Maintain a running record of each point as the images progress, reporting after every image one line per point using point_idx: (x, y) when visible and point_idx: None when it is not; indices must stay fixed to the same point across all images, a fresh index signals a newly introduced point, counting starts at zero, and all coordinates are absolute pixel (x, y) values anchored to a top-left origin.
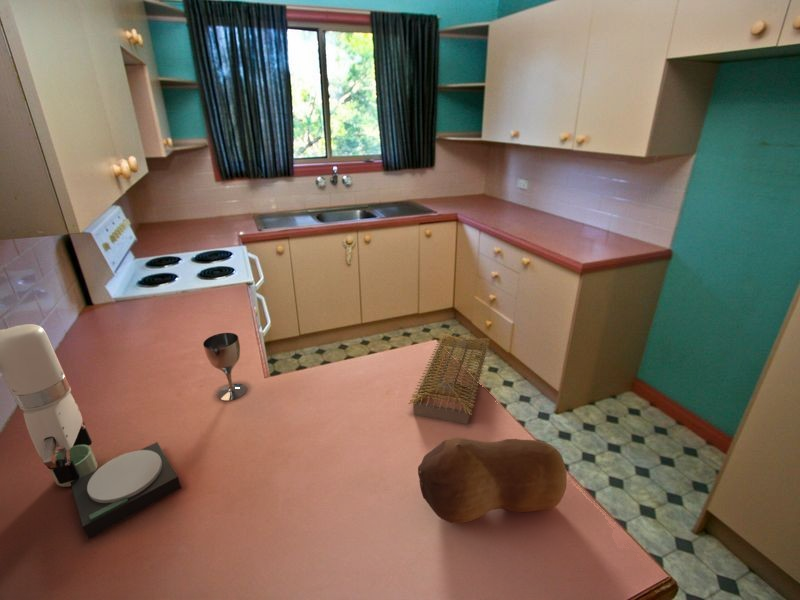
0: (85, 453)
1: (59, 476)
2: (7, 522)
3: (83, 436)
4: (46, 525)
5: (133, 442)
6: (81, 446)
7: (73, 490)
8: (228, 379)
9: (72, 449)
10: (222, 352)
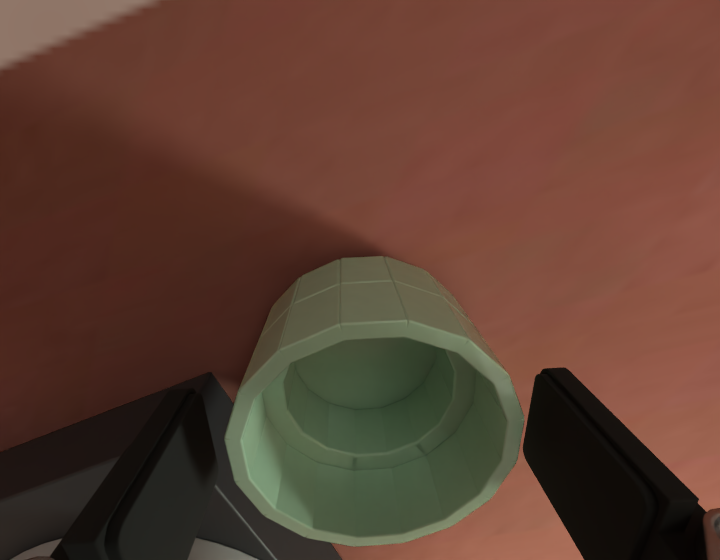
0: (459, 426)
1: (99, 487)
2: (45, 55)
3: (576, 521)
4: (4, 301)
5: (498, 505)
6: (486, 474)
7: (89, 473)
8: None
9: (496, 414)
10: None
